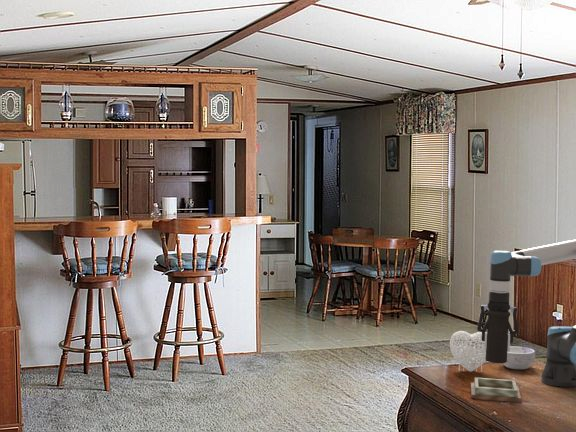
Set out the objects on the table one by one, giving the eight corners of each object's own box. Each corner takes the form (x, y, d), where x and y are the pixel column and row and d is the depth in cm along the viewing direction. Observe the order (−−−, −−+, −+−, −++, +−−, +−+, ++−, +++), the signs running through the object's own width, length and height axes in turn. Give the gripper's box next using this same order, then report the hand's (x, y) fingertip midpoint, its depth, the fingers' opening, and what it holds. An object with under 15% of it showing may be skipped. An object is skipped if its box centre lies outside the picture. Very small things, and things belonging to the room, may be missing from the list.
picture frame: (517, 389, 336) (518, 379, 336) (520, 402, 319) (521, 391, 318) (470, 386, 340) (471, 376, 339) (471, 398, 322) (471, 388, 322)
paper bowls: (491, 364, 378) (492, 346, 377) (519, 362, 384) (520, 344, 383) (513, 372, 364) (514, 354, 364) (542, 370, 370) (542, 352, 370)
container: (505, 359, 332) (508, 308, 331) (509, 364, 323) (512, 312, 322) (483, 357, 333) (485, 306, 332) (486, 363, 324) (488, 310, 323)
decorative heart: (448, 373, 360) (450, 332, 359) (448, 367, 371) (449, 328, 370) (492, 375, 358) (494, 335, 356) (490, 369, 368) (492, 330, 367)
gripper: (526, 291, 328) (523, 350, 330) (471, 288, 332) (468, 346, 334) (528, 294, 321) (525, 354, 322) (471, 291, 325) (469, 350, 326)
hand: (496, 350), depth 328 cm, fingers closed on container, 8 cm apart
